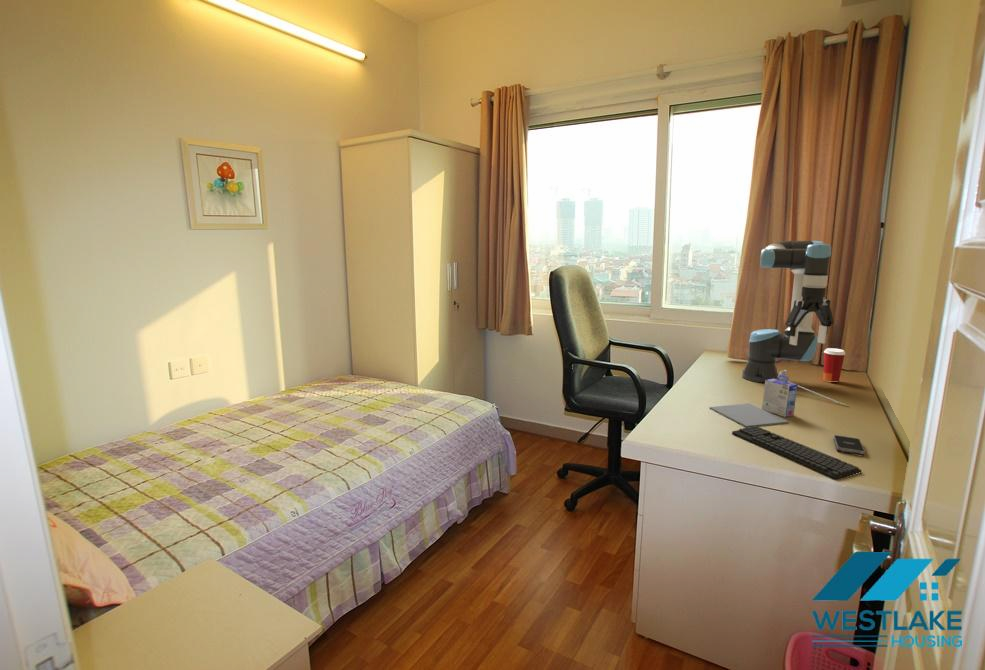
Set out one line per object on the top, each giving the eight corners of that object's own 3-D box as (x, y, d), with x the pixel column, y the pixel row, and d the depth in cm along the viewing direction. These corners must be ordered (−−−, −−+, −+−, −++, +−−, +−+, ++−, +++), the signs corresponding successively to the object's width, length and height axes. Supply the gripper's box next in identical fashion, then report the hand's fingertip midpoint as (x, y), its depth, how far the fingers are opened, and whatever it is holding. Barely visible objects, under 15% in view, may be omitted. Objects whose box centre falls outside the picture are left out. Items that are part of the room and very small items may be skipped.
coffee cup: (841, 380, 228) (845, 349, 225) (842, 385, 221) (846, 352, 218) (819, 377, 232) (823, 347, 229) (819, 382, 226) (824, 350, 223)
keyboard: (731, 435, 168) (731, 429, 168) (754, 430, 173) (755, 424, 172) (835, 482, 136) (836, 475, 136) (861, 474, 140) (862, 468, 140)
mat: (748, 404, 197) (748, 403, 196) (788, 422, 177) (789, 421, 177) (709, 408, 193) (709, 407, 192) (746, 427, 173) (746, 425, 173)
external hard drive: (837, 453, 154) (837, 447, 153) (832, 440, 163) (833, 434, 163) (864, 457, 150) (865, 451, 150) (858, 444, 160) (859, 438, 160)
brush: (842, 420, 193) (848, 399, 190) (774, 390, 215) (779, 371, 211) (847, 417, 195) (853, 396, 191) (779, 388, 217) (784, 369, 213)
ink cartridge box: (794, 415, 185) (799, 378, 182) (785, 417, 182) (790, 380, 180) (769, 407, 194) (773, 372, 191) (761, 409, 191) (764, 373, 188)
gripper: (832, 284, 187) (824, 340, 191) (778, 286, 182) (772, 343, 186) (850, 286, 180) (842, 344, 184) (794, 288, 174) (787, 347, 179)
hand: (807, 343), depth 185 cm, fingers open, 12 cm apart
